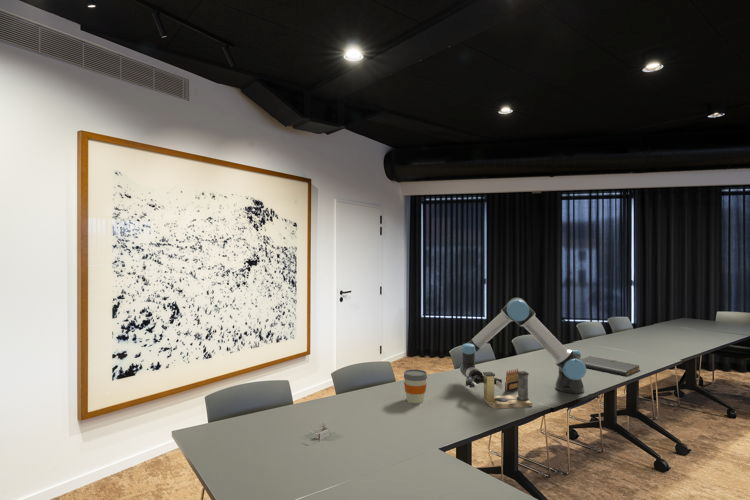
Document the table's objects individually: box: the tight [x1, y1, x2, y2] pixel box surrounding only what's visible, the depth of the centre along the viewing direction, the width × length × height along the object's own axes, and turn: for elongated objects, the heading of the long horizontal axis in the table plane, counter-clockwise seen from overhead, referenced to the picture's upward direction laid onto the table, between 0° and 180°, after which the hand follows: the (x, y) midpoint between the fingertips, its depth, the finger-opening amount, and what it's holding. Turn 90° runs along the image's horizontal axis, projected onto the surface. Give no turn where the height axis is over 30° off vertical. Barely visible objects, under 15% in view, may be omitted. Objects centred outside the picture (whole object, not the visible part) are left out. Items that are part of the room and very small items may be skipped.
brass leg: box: [482, 371, 496, 402], centre depth 220 cm, size 5×5×14 cm
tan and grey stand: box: [483, 370, 533, 409], centre depth 222 cm, size 22×12×16 cm, turn 98°
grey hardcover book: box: [581, 355, 640, 377], centre depth 292 cm, size 33×4×24 cm
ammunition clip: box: [504, 368, 519, 393], centre depth 243 cm, size 11×2×12 cm, turn 123°
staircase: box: [310, 422, 329, 442], centre depth 179 cm, size 6×4×6 cm, turn 141°
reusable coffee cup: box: [403, 368, 428, 404], centre depth 226 cm, size 13×13×15 cm
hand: (489, 387), depth 218 cm, fingers open, 13 cm apart
